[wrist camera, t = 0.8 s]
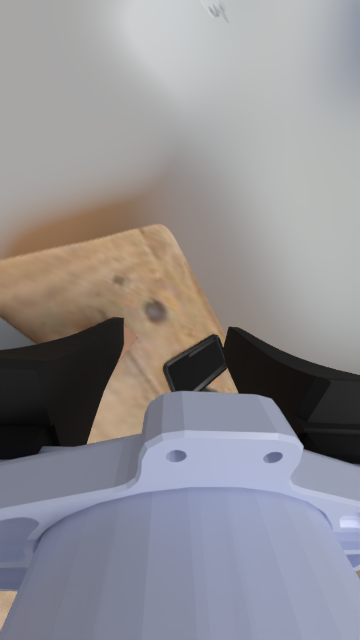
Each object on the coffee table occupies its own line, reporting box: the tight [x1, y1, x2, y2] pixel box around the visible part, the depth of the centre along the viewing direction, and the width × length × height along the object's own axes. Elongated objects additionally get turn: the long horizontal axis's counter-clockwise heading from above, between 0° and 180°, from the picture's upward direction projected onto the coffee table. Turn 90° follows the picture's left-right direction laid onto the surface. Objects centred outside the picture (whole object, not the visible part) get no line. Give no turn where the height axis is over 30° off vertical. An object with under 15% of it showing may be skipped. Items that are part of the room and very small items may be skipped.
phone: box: [163, 335, 228, 392], centre depth 34 cm, size 8×1×15 cm
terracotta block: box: [112, 316, 138, 363], centre depth 22 cm, size 4×4×5 cm
